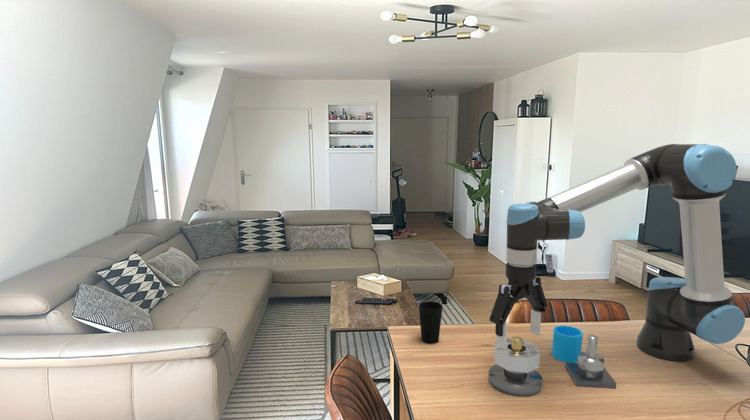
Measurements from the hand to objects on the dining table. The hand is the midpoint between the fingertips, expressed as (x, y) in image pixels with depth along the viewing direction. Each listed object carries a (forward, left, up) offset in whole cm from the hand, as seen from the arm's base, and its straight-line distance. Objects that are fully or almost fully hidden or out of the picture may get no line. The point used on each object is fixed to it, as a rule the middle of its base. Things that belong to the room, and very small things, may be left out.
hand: (518, 339), depth 120 cm
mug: (-18, -19, -12) cm, 29 cm away
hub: (0, 0, -12) cm, 12 cm away
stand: (-21, -5, -12) cm, 24 cm away
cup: (+23, -23, -12) cm, 35 cm away
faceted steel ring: (0, 0, -6) cm, 6 cm away
